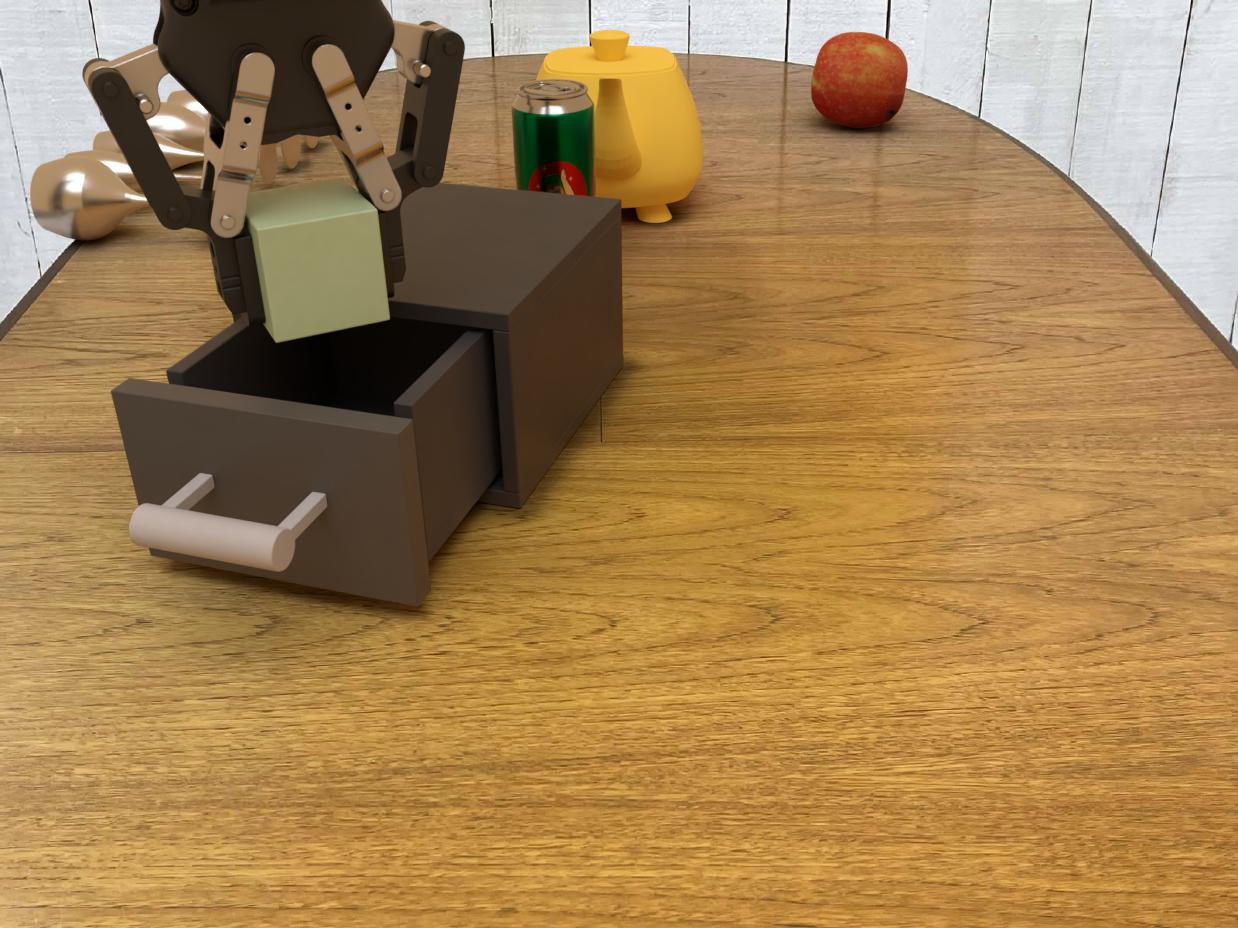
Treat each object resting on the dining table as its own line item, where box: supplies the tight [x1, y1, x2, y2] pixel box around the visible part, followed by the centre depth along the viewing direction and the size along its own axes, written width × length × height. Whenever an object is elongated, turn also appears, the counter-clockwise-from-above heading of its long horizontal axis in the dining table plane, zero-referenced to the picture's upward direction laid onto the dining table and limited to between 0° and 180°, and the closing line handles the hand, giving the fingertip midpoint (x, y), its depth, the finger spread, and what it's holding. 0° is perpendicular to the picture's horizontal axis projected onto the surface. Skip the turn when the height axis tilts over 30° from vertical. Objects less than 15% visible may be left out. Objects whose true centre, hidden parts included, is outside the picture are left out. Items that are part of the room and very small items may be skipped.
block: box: [244, 177, 390, 343], centre depth 50 cm, size 5×5×5 cm
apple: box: [810, 31, 909, 129], centre depth 109 cm, size 8×8×8 cm
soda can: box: [511, 79, 596, 197], centre depth 79 cm, size 5×5×12 cm
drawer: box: [110, 317, 502, 607], centre depth 53 cm, size 19×12×8 cm, turn 162°
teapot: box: [535, 29, 704, 224], centre depth 90 cm, size 13×20×12 cm
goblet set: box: [29, 89, 320, 241], centre depth 97 cm, size 28×6×13 cm
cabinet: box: [231, 182, 624, 509], centre depth 63 cm, size 16×14×10 cm
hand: (316, 303), depth 51 cm, fingers closed on block, 4 cm apart
